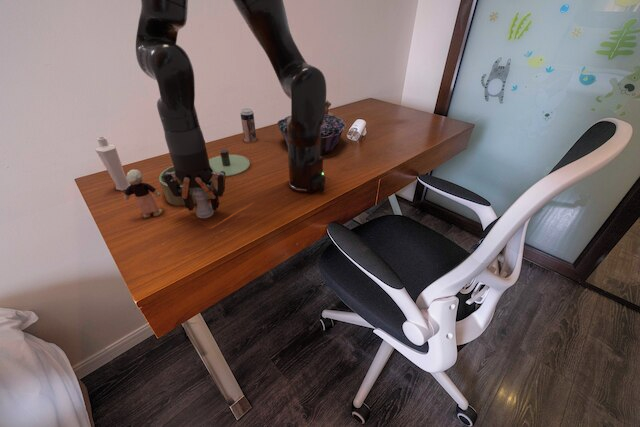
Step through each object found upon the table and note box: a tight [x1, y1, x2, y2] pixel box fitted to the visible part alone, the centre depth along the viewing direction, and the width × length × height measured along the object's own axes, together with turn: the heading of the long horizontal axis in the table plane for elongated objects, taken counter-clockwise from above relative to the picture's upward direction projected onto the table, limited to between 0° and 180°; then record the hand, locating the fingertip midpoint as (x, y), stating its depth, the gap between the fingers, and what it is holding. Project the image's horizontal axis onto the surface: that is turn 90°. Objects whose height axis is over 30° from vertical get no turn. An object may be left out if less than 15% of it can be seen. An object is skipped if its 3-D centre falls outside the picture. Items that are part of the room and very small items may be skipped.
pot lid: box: [208, 148, 251, 178], centre depth 92 cm, size 15×15×6 cm
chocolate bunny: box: [325, 99, 334, 115], centre depth 130 cm, size 6×8×10 cm
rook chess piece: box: [192, 187, 215, 219], centre depth 70 cm, size 4×4×8 cm
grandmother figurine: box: [123, 169, 163, 219], centre depth 69 cm, size 8×4×13 cm, turn 118°
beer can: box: [239, 108, 257, 143], centre depth 108 cm, size 5×5×12 cm
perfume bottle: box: [95, 136, 131, 192], centre depth 78 cm, size 5×4×15 cm
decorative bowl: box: [276, 114, 347, 155], centre depth 109 cm, size 26×28×10 cm
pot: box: [158, 165, 218, 207], centre depth 79 cm, size 14×14×6 cm
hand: (203, 208), depth 72 cm, fingers open, 5 cm apart
